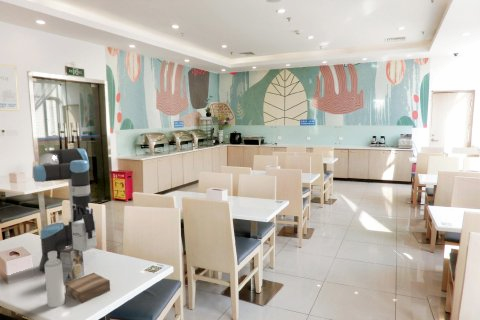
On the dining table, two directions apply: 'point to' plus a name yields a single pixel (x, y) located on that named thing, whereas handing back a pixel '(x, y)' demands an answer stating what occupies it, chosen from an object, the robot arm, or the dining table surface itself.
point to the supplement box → (81, 236)
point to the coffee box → (71, 263)
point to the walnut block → (87, 287)
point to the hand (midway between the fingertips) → (84, 243)
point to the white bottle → (54, 280)
